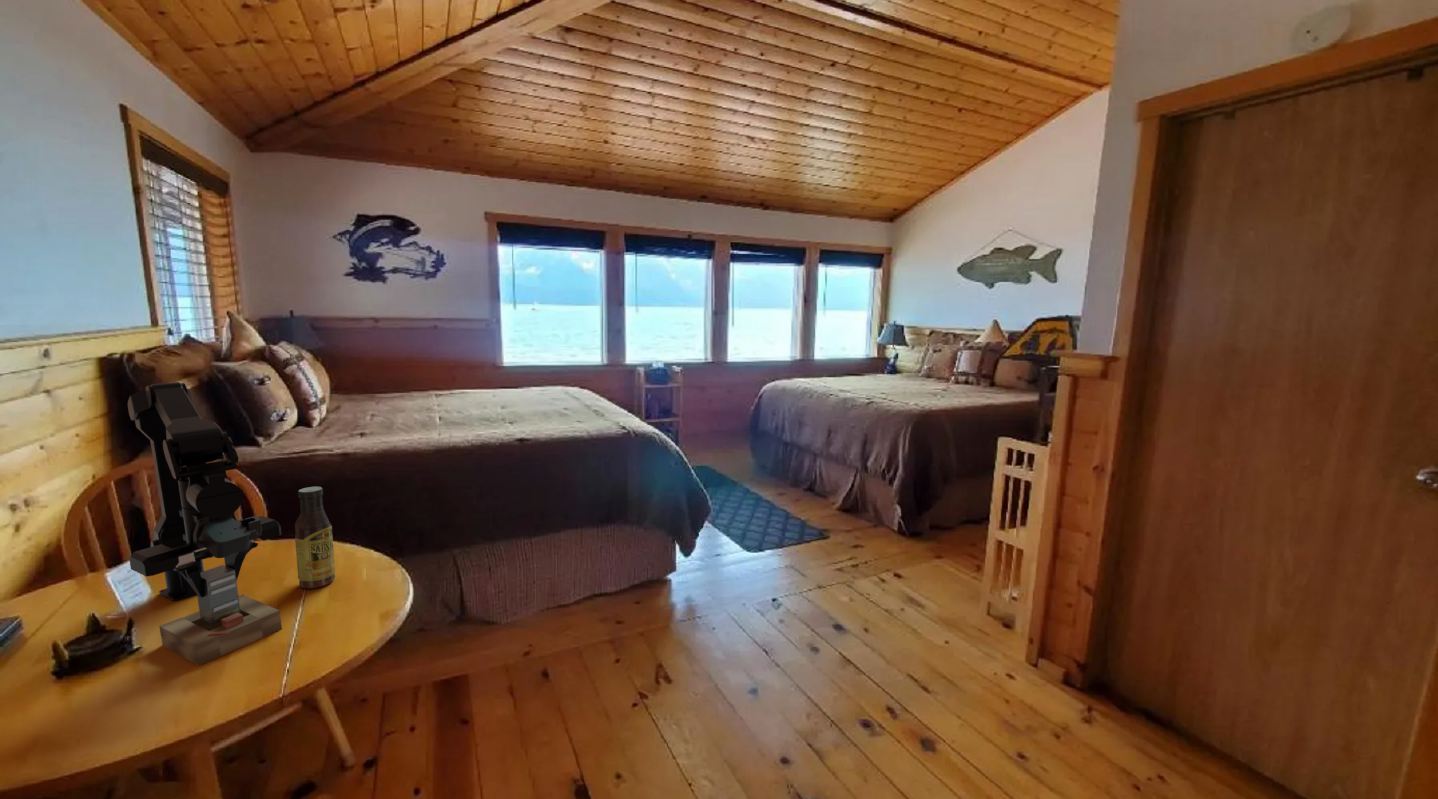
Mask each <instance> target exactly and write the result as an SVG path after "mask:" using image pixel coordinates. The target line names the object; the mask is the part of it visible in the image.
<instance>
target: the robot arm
mask: <svg viewBox="0 0 1438 799" xmlns="http://www.w3.org/2000/svg"><path fill="white" fill-rule="evenodd" d="M127 409H128V410H127V411H128V415H129V418H130V420H131V421H134V423H135V428H136V429H137V430H139V431H140V432H141V433H142V434H143V435H144V436H145V437H146V438H147V439H148V440H149V441H150V448H151V454H152V460H153V465H154V472H155V480H156V484H157V490H158V496H159V503H160V509H161V516H160V518H159V519H158V521H157V523H156V524H155V526H154V527H153V530H152V531H153V540H151V541H150V547H146V548H144V549H140V550H139V549H138V550H136V551H133V552H132V553H131V556H130V557H129V566H130V570H132V571H134V572H136V573H138V574H140V575H142V576H143V577H153V576H157V575H159V574H163V573H164V579H165V584H166V588H163V589H160V590H159V591H158V593H159V595H161V596H164V597H165V598H168V599H169V600H171V601H179V600H182V599H184V598H188V597H190V596H193V595H196V596H197V595H198V596H199V597H201V598H202V597H204V586H203V582H202V578H201V574H200V572H203V571H205V566H204V560H205V559H209V558H216V559H224V566H227V567H229V568H231V569H234V570H235V574H236V582H237V581H238V578H239V575H240V573H241V572H240V571H241V568H242V565H243V563H244V561H245V559H246V556H247V554H249V552H250V551H251V550H252V549H255V548H257V547H258V546H259V543H258V542H255V541H254V540H256V539H259V540H261V541H267V540H270V539H273V538H277V537H279V536H281V535H282V527H281V524H280V522H279V521H278V520H276V519H273V518H270V517H267V516H265V515H260V516H257V515H254V516H250V517H247V518H244V519H242V518H241V519H237V518H236V516H235V514H234V513H235V512H236V511H238V510H239V508H240V507H241V505H242V503H243V499H244V494H243V491H242V490H241V488H240V487H239V486H238V485H236V484H235V483H233V482H232V481H231V480H229V479H228V476H227V471H233V470H237V469H238V465H237V463H238V462H239V455H238V453H237V450H236V448H235V445H234V442H233V440H232V438H231V437H230V436H228V433H227V432H226V431H223V430H222V429H221V427H220V426H219V425H218V424H217V422H214V421H213V420H208V419H204V418H202V417H201V416H200V413H199V412H198V411H197V409H196V406H195V403H194V398H193V393H192V390H191V389H189V388H187V386H186V383H185V382H178V381H177V382H175V381H174V382H162V383H152V384H151V385H147V386H145V389H143V390H141V391H138V392H136V393H133V394H131V395H129V398H128V401H127ZM224 459H225V460H224ZM237 583H238V582H237Z"/></svg>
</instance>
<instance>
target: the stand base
mask: <svg viewBox="0 0 1438 799" xmlns="http://www.w3.org/2000/svg"><path fill="white" fill-rule="evenodd" d="M238 597H239V604H240V612H241V613H236V614H233V615H231V616H228V617H226V618H223V619H221V621H220V622H218V623H215V624H211V623H209V622H207V621H205V620H203V619H201V618H200V611H199V610H198V611H195V612H193V613H190V614H187V615H185V616H183V617H182V616H181V617H179V618H177V619H175V620H172V621H169V622H166V623H164V624H162V625H161V624H160V625H159V632H160V637H161V644H162V647H165V648H167V649H168V650H171V651H172V652H173V653H175V654H177V655H179V656H181V657H182V658H185V659H186V660H187V661H190V662H191V663H193V664H195V665H196V666H202V665H204V664H206V663H208V662H210V661H213V660H215V659H217V658H219V657H222V656H224V655H227V654H228V653H230V652H233V651H235V650H238V649H240V648H242V647H244V646H246V645H249V644H251V643H253V642H256V641H258V640H260V639H263V638H265V637H267V636H269V635H272V634H275V633H276V632H278V631H280V630H282V629H283V627H282V619H281V617H282V616H281V611H280V610H279V609H277V608H275V607H273V606H270V605H268V604H266V603H263V602H261V601H258V600H257V599H254V598H251V597H249V596H247V595H245V594H240V595H238Z"/></svg>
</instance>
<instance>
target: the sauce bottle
mask: <svg viewBox="0 0 1438 799" xmlns="http://www.w3.org/2000/svg"><path fill="white" fill-rule="evenodd" d="M323 490H324V489H323V487H321V486H309V487H304V488H301V489H298V492H297V496H298V498H299V503H300V504H299V505H300V508H299V510H300V514H299V516H298V517H297V518H296V521H295V524H294V530H295V531H294V532H295V533H294V534H295V536H294V540H295V553H296V554H295V555H296V567H297V569H296V570H297V578H298V580H299V587H300V588H302V589H307V590H308V589H309V590H312V589H318V588H321V587H325V586H327V585H330V583H332V582H333V581H334V580H335V578H336V576H335V573H336V565H335V551H334V538H333V526H332V523H331V522H330V521H329V520H330V519H329V518H328V516H327V513H326V512H325V509H324V505H323V495H324V492H323Z"/></svg>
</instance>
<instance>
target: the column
mask: <svg viewBox="0 0 1438 799" xmlns="http://www.w3.org/2000/svg"><path fill="white" fill-rule="evenodd" d="M200 574H201V578H202V582H203V586H204V597H202V598H201V597H199V596H198V595H197V594H196V596H197V597H196V598H197V603H198V611H200V618H201V619H203V620H205V621H207V622H209V623H211V624H215V623H218V622H220V621H221V619H223V618H226V617H228V616H231V615H233V614H236V613H241V612H240V604H239V597H238V596H239V590H238V582H236V574H235V570H234V569H231V568H229V567H227V566H225V564H221V565H218V566H216V567H215V566H214V567H212V568H209V569H206V570H204V571H203V572H200Z"/></svg>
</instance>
